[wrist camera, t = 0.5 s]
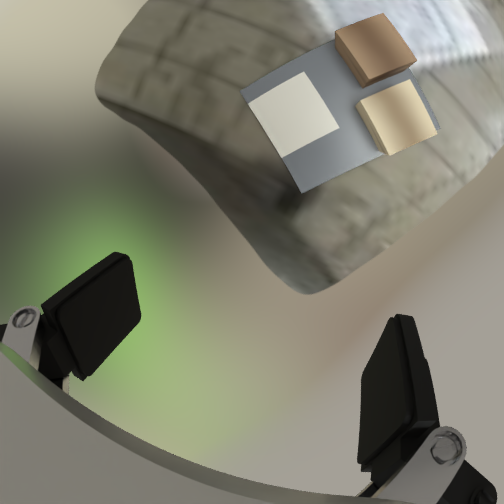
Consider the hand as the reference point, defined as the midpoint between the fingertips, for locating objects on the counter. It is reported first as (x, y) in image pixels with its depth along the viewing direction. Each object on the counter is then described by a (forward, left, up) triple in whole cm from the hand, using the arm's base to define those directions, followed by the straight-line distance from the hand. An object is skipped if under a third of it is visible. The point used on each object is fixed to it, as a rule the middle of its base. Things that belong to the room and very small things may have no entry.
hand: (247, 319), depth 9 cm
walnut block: (-14, -10, -26) cm, 32 cm away
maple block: (-12, -3, -26) cm, 29 cm away
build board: (-8, -6, -27) cm, 29 cm away
